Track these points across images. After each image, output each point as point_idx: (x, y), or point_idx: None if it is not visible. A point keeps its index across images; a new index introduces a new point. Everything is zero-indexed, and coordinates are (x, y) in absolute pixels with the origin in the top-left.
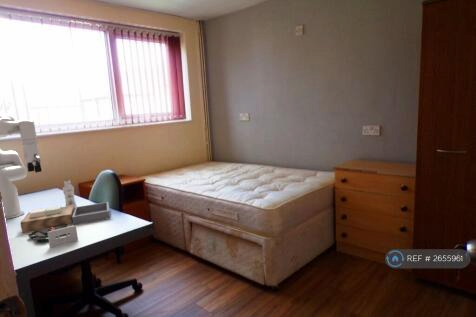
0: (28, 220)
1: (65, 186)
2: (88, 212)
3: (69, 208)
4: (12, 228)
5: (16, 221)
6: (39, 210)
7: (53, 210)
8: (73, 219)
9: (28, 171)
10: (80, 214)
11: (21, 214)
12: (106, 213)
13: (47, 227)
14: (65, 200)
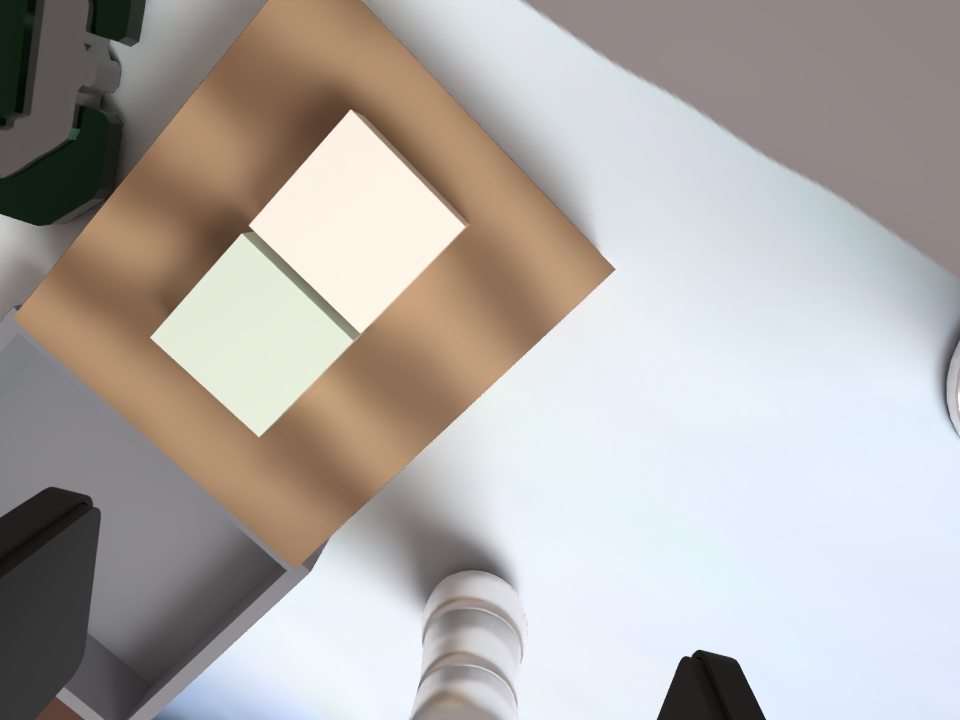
0: (285, 32)
1: None
2: (230, 574)
3: (232, 472)
4: (617, 67)
5: (805, 244)
6: (348, 234)
7: (193, 291)
8: None
9: (719, 655)
10: None
11: (951, 406)
12: None
13: (86, 81)
14: (490, 648)
